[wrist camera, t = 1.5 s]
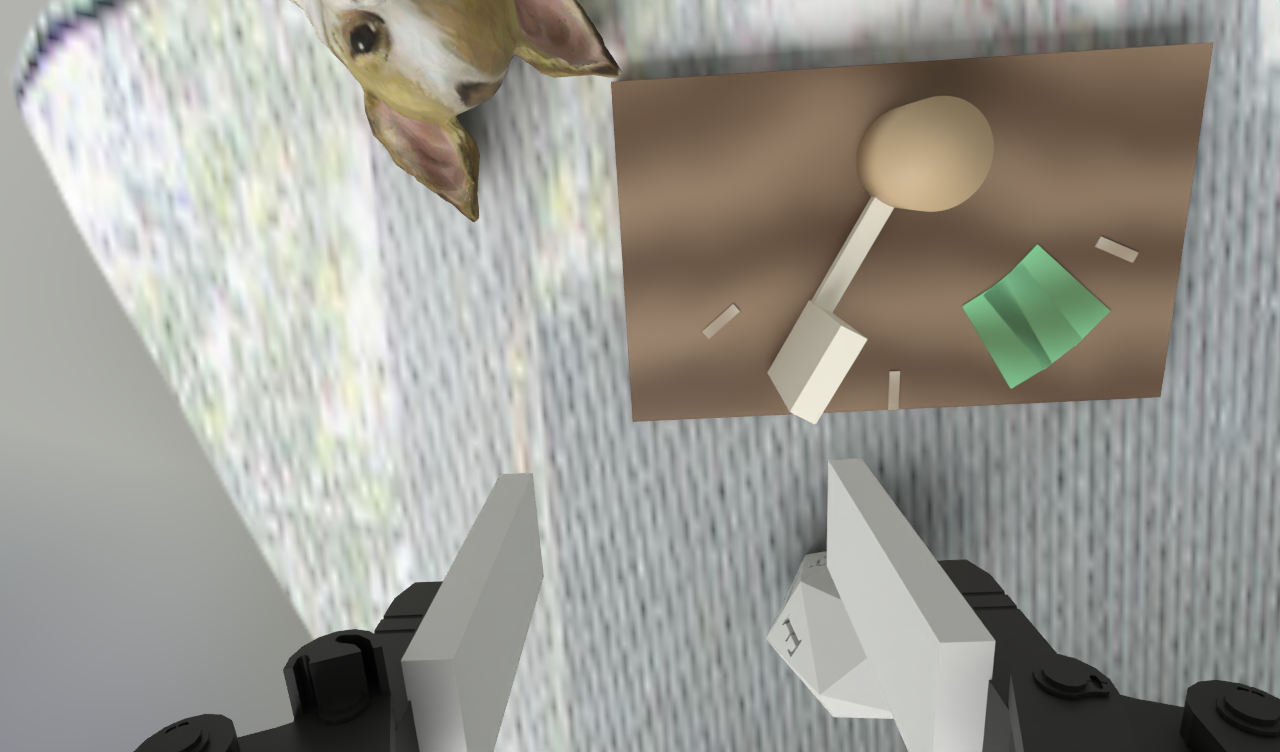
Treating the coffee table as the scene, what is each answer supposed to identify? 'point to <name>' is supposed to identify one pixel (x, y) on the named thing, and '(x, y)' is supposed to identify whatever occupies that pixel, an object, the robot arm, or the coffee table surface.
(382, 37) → the ceramic sculpture
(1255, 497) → the coffee table surface
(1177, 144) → the dial plate
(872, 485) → the robot arm
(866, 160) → the knob lever
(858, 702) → the die
